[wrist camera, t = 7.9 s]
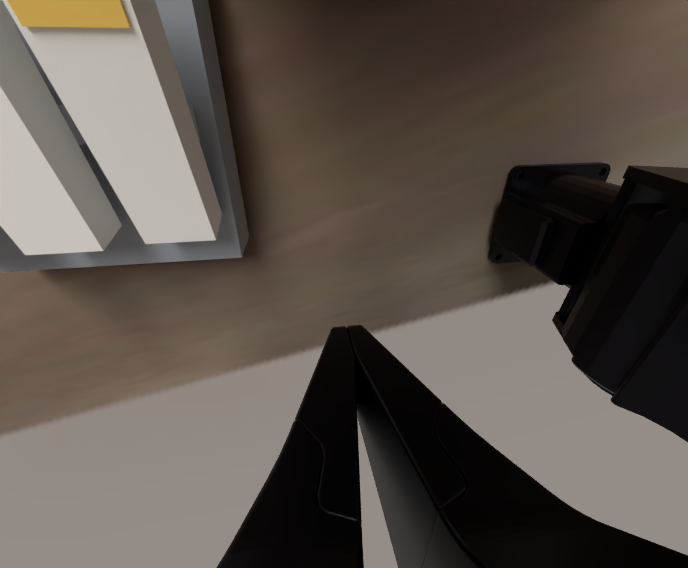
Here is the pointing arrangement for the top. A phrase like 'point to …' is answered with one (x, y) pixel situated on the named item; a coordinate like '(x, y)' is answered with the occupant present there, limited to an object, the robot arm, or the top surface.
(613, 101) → the top surface
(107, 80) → the block
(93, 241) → the rocker middle
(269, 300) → the top surface
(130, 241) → the console
